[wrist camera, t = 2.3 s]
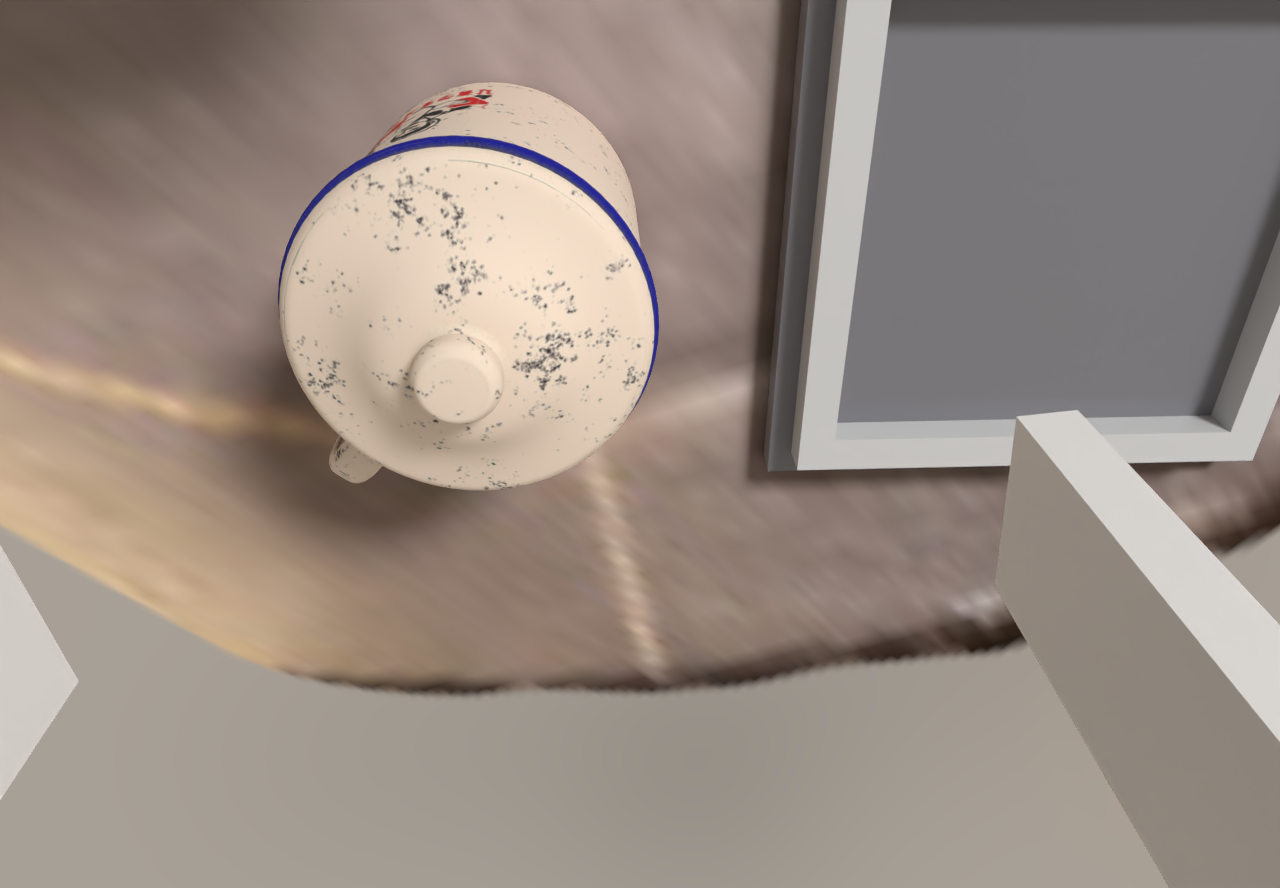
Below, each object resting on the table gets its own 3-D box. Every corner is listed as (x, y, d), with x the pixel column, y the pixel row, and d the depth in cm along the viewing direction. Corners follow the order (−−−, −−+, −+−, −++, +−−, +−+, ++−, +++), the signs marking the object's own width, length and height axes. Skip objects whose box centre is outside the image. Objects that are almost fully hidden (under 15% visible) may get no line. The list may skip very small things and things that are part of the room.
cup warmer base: (763, 456, 34) (772, 489, 33) (824, -284, 23) (844, -299, 21) (1230, 447, 35) (1266, 478, 33) (1514, -279, 24) (1592, -293, 22)
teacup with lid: (461, 1, 26) (379, 70, 16) (701, 199, 29) (755, 358, 19) (261, 309, 31) (101, 511, 21) (488, 451, 34) (443, 684, 24)
